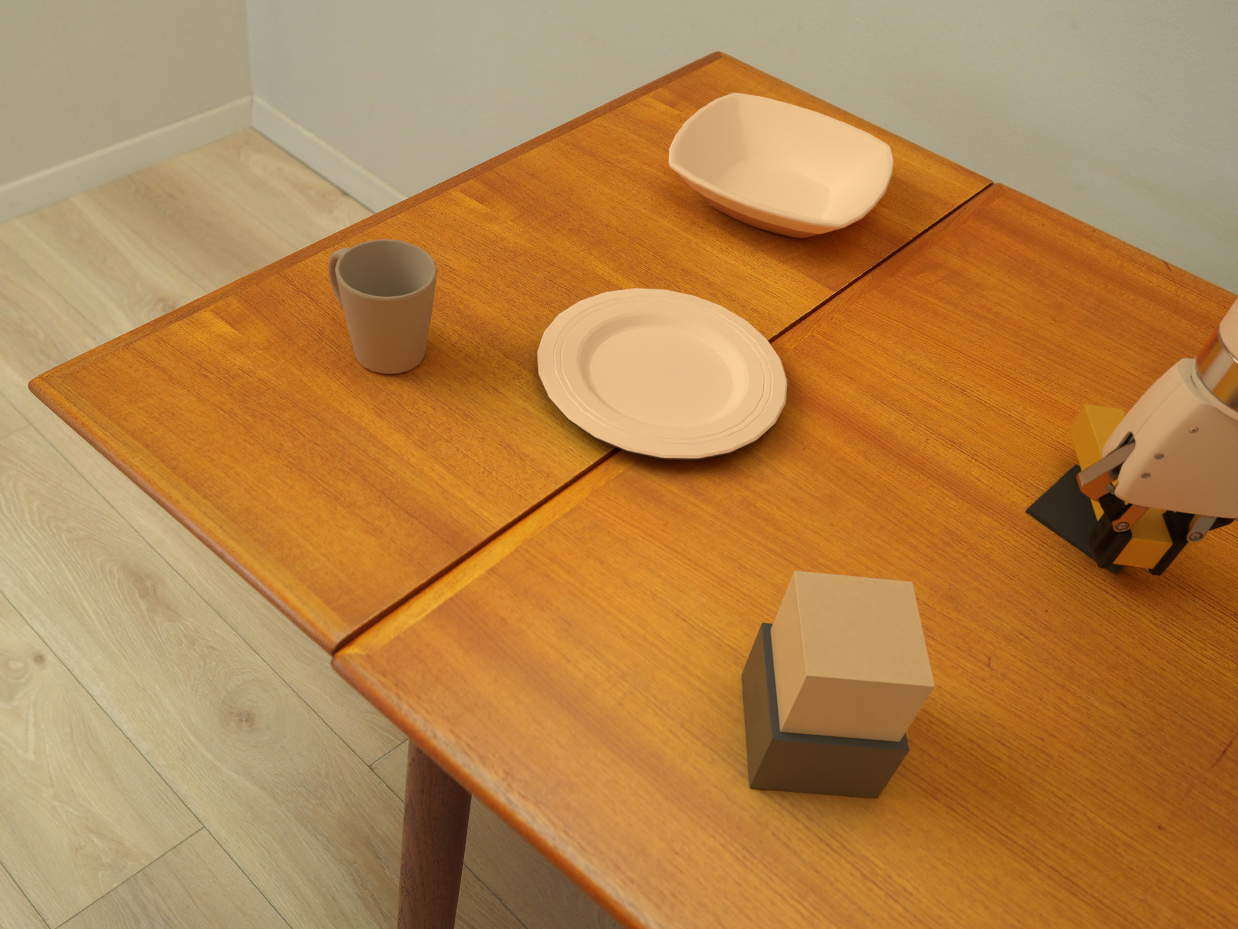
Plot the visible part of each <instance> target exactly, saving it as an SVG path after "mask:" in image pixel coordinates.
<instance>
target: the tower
mask: <svg viewBox="0 0 1238 929" xmlns="http://www.w3.org/2000/svg"><path fill="white" fill-rule="evenodd" d="M932 670H933V669H932V665H931V661H930V657H929V652H928V648H927V643H926V638H925V632H924V629H923V624H922V618H921V615H920V609H919V605H918V601H917V596H916V591H915V587H914V582H913V581H909V580H899V579H887V578H878V577H877V578H876V577H867V576H858V575H857V576H856V575H847V574H836V573H825V572H815V571H805V570H794V571H793V572H792V575H791V578H790V580H789V583H788V585H787V588H786V591H785V593H784V595H783V597H782V600H781V603H780V606H779V607H778V611H777V612H776V615H775V618H774V620H773V623H771V622H769V623H768V622H761V624H760V626H759V629H758V631H757V634H756V636H755V639H754V642H753V644H752V647H751V649H750V651H749V654H748V657H747V660H746V662H745V665H744V667H743V670H742V671H741V687H742V688H741V689H742V702H743V716H744V718H743V719H744V731H745V732H744V733H745V744H746V746H745V747H746V758H747V759H746V760H747V772H748V773H747V774H748V775H747V776H748V787H749V789H755V790H769V791H780V792H781V791H782V792H794V793H807V794H819V795H833V796H843V797H844V796H845V797H855V798H858V797H859V798H871V799H878V798H879V797H880V795H881V794H882V792H883V791H884V789H885V788H886V787H887V785H888V784H889V782H890V780H892V778H893V776H894V775H895V773H896V771H897V770H898V769H899V767H900V766H901V764H902V763H903V761H904V759H905V758H906V757H907V755H908V754H909V752H910V748H909V741H908V736H907V731H908V730H909V728H910V727H911V725H912V723H913V722H914V720H915V718H916V717H917V716H918V714H919V713H920V711H921V709H922V707H923V706H924V704H925V703H926V701H927V700H928V699H929V697H930V695H931V694H932V693H933V691H934V689H935V688H936V685H935V679H934V675H933V671H932Z"/></svg>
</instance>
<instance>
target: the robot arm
mask: <svg viewBox="0 0 1238 929" xmlns="http://www.w3.org/2000/svg"><path fill="white" fill-rule="evenodd" d="M1101 455H1102V459H1101V460H1099V461H1098V462H1096V463H1094V464H1093V465H1091V466H1089V467H1088V468H1086V469H1084V470H1083V471H1081V472H1079V473H1078V474H1077V476H1076V479H1077V482H1078V485H1079V488H1080V491H1081V492H1082V493H1084V494H1085V495H1086V496H1088V497H1089V498H1091V499H1092V500H1094V501H1097V502H1098V503H1100V506H1101V508H1102V509H1103V511H1104V513H1103V515H1102V516H1101V517H1100V519H1099V520H1098V522H1097V523H1096V524H1095V526H1094V527H1093V529H1092V530H1091V531H1090V533H1089V537H1088V541H1089V545H1090V548H1091V549H1092V550H1093V552H1094V555H1095V559H1096V561H1095V562H1096V564H1097V568H1099V569H1106V570H1108V569H1107V568H1108V567H1110V566H1111V565H1112V564H1113V562H1114V561H1115V560H1116V559H1117V557H1118V556H1119V555H1120V553H1121V552H1122V551H1123V549H1124V548H1125V547H1126V545H1127V544H1128V543H1129V541H1130V540H1131V539H1132V532H1131V529H1130V528H1131V527H1132V526H1133V525H1134V524H1135V523H1136V522H1137V521H1138V520H1139V519H1140V518H1141V517H1142V516H1143V515H1144V514H1145V513H1146V511H1147V510H1148V509H1149V508H1150V507H1151V508H1157V509H1160V510H1164V512H1161V513H1162V516H1163V518H1164V521H1165V524H1166V526H1167V529H1168V532H1169V534H1170V537H1171V540H1172V542H1173V545H1172V546H1171V547H1170V548H1169V549H1168V551H1167V552H1166V553H1165V554H1164V556H1163V557H1162V558H1161V559H1160V561H1159V562H1158V563H1157V564H1156V566H1155V567H1154V568H1153V569H1149V568H1147V570H1148V572H1149V574H1150V575H1152V576H1155V577H1156V576H1157V577H1161V576H1162V575H1163V574H1164V573H1165V571H1166V570H1167V569H1168V568H1169V567H1170V566H1171V564H1172V563H1173V562H1174V560H1176V558H1178V556H1179V555H1180V553H1181V552H1182V551H1183V550H1184V549H1185V547H1186V546H1187V545H1188V544H1189V543H1198V542H1201V541H1203V540H1204V539H1205V537H1206V536H1207V534H1208V533H1209V532H1211V531H1214V530H1217V529H1220V528H1223V527H1226V526H1229V525H1231V524H1233V523H1234V522H1235V521H1236V522H1238V297H1236V299H1235V300H1234V302H1233V304H1232V305H1231V307H1230V308H1229V309H1228V311H1227V312H1226V313H1225V315H1224V317H1223V318H1222V320H1221V321H1219V324H1218V325H1217V326H1216V328H1215V329H1214V330H1213V332H1212V333H1211V334H1210V336H1209V338H1207V340H1206V342H1205V343H1204V345H1203V346H1202V347H1201V349H1200V351H1199V352H1198V354H1197V355H1196V357H1195V358H1192V357H1189V358H1188V357H1183V358H1181V359H1180V360H1178V361H1177V362H1176V363H1174V364H1173V365H1172V366H1171V367H1170V368H1168V369H1167V370H1166V371H1165V372H1163V374H1162V375H1161V376H1160V377H1158V379H1156V381H1154V383H1152V385H1151V386H1150V387H1149V388H1148V389H1147V390H1145V392H1144V393H1143V394H1142V395H1141V396H1140V397H1139V399H1138V400H1137V401H1136V402H1135V403H1134V405H1133V406H1132V407H1131V409H1129V411H1128V412H1127V413H1126V414H1125V417H1124V418H1123V420H1122V421H1121V422H1120V423H1119V425H1118V426H1117V427H1116V429H1115V430H1114V432H1113V433H1112V434H1111V436H1110V437H1109V439H1108V440H1107V442H1106V443H1105V445H1104V446H1103V448H1102V451H1101ZM1117 479H1118V483H1117V484H1116V485H1115V486H1114V485H1113V484H1112V482H1114V481H1115V480H1117ZM1124 502H1128V504H1127V505H1126V504H1125V503H1124Z"/></svg>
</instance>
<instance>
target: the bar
mask: <svg viewBox="0 0 1238 929" xmlns="http://www.w3.org/2000/svg"><path fill="white" fill-rule="evenodd" d="M1125 416H1126V414H1125V412H1124V409H1123V408H1119V407H1118V408H1116V407H1111V406H1103V405H1096V404H1090V403H1084V404H1083V405H1082V407H1081V408H1080V410H1079V412H1078V413H1077V415H1076V417H1075V418H1074V420H1073V421H1072V423H1071V425H1070V426H1069V428H1068V433H1069V436H1070V438H1071V442H1072V445H1073V448H1074V452H1075V454H1076V458H1077V460H1078V465H1079V466H1080V467H1081V470H1082V471H1083V470H1084V469H1086V468H1088V467H1089V466H1091V465H1093V464H1094V463H1096V462H1098V461H1099V460H1101V459H1102V455H1101V451H1102V448H1103V446H1104V445H1105V443H1106V442H1107V440H1108V439H1109V437H1110V436H1111V434H1112V433H1113V432H1114V430H1115V429H1116V427H1117V426H1118V425H1119V423H1120V422H1121V421H1122V420H1123V418H1124V417H1125ZM1117 483H1118V479H1117V480H1115V481H1114V482H1112V484H1113V485H1114V486H1115V485H1116V484H1117ZM1090 499H1091V498H1090ZM1091 502H1092V505H1093V508H1094V511H1095V515H1096V518H1097V521H1098V520H1099V519H1100V517H1101V516H1102V515H1103V513H1104V511H1103V509H1102V508H1101V506H1100V503H1098V502H1097V501H1094V500H1092V499H1091ZM1124 503H1125V504H1126V505H1127V504H1128V502H1124ZM1162 513H1163V512H1162V509H1157V508H1151V507H1150V508H1149V509H1148V510H1147V511H1146V513H1145V514H1144V515H1143V516H1142V517H1141V518H1140V519H1139V520H1138V521H1137V522H1136V523H1135V524H1134V525H1133V526H1132V527H1131V528H1130V529H1131V532H1132V539H1131V540H1130V541H1129V543H1128V544H1127V545H1126V547H1125V548H1124V549H1123V551H1122V552H1121V553H1120V555H1119V556H1118V557H1117V559H1116V560H1115V561H1114V562H1113V564H1120V565H1125V566H1126V567H1127V566H1129V567H1135V568H1142V569H1148V568H1149V569H1153V568H1154V567H1155V566H1156V564H1157V563H1158V562H1159V561H1160V559H1161V558H1162V557H1163V556H1164V554H1165V553H1166V552H1167V551H1168V549H1169V548H1170V547H1171V546H1172V545H1173V542H1172V540H1171V537H1170V534H1169V532H1168V529H1167V526H1166V524H1165V521H1164V518H1163V516H1162Z"/></svg>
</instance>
